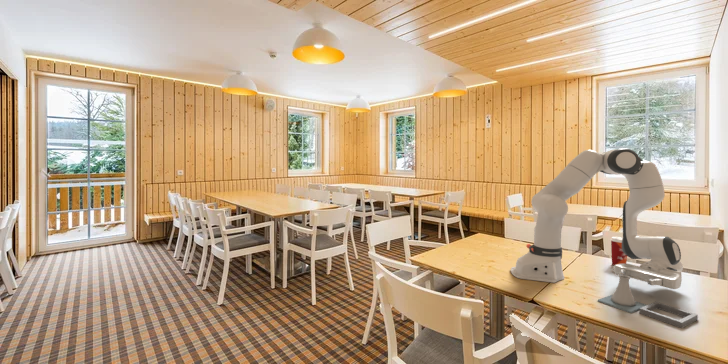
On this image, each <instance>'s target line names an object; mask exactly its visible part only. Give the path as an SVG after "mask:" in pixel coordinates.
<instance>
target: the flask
mask: <svg viewBox="0 0 728 364" xmlns="http://www.w3.org/2000/svg"><path fill="white" fill-rule="evenodd" d="M618 278H619V282H618V284H617V287H616V288H615V290H614V292H613V294H611V295H612V297H611V300H612V301H613V302H615V303H618V304H620V305H626V306H633V305H636V302H637V301H636V299H635V298H634V295H633V293H632V290H631V287H630V280H631V278H630V277H628V276H625V275H619V274H618ZM635 301H636V302H635Z"/></svg>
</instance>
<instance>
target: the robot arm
mask: <svg viewBox="0 0 728 364" xmlns="http://www.w3.org/2000/svg"><path fill="white" fill-rule="evenodd" d="M599 172H601V173H603V174H607V175H622V176H624V177H625V179H626V181H627V184H628V188H629V189H628V190H629V196H628V199H627V200H625V201H624V202H623V205H622V206H623V207H622V237H623V239H622V251H623V252H624V253H625V254H626V255H627V258H629V259H631V260H649V261H645V262H643V263H641V264H640V265H639V266H638V265H635V264H630V263H627V262H626V263H622V264H616V265H613V272H614V274H616V275H618V276H619V275H625V276H628V277H630V279H633V280H637V281H638V280H639V281H641V282H645V283H647V285H649V286H660V287H663V288H667V289H670V290H677V289H678V290H679V289H680V288H681V286H682V280H683V279H682V277H683V276H682V272H683V270H684V267H683V264H682V261H681V259H682V258H681V257H682V254H681V253H682V252H681V249H680V247H679V244H678V243H677V242H676V241H675V240H674V239H672V238H671V237H669V236H660V235H659V236H645V235H644V236H642V235H641V236H640V235H639V234H638V216H639V215H640V214H641V213H642V212H645V211H647V210H650V209H652V208H655V207H656V206H659V204H662V203H661V202H663V201H664V199H665V197H666V196H665V188H664V187H665V186H664V184H663V179H662V177H661V174H660V172H659V169H658V167H657V166H656V164H655V163H654V162H653V161H649V160H643V159H642V158H641V157H640V156H639V155H638V153H636V151H634V150H633V149H630V148H626V147H625V148H624V147H621V148H616V149H615V148H614V149H611V150H607V151H605V152H602V153H599V152H598V151H597V150H596V151H595V150H592V149H585V150H583V151H582V152H580V153H579V154H578V155H576V156H575V157H573V159H572V160H571V161H570V162H569V163H568V164H567V165H566V166H565V167H564V168H563V169H562V170H561V171H560V172H559V173H558V174H557V176H556V177H554V179H552V180H551V181H550V182H548V183H547V184H546V185H545V186H544V187H542V189H541V190H539V191H538V192H536V193H535V194H534V195H533V196H532V198H531V202H530V203H531V206H532V208H533V210H534V212H537V218H536V221H535V222H536V223H535V226H534V229H533V231H534V232H533V233H534V234H533V244H532V245H531V243H527V244H526V245H525V246H526V248H527V249H528V252H526V253H525V254H523V255H522V256H520V257H518V258H517V260H516V262H515V266H512V267H511V268H510V273H511V275H513V276H514V277H515V278H517V279H521V280H529V281H536V282H537V281H538V282H547V283H552V284H554V283H557V282H559V281H562V280H564V279H565V276H564V271H563V265H562V258H563V247H562V231H563V225H564V223H565V218H566V215H567V214H568V211H569V205H568V204H567V200H569V199H570V198H572V197H573V196H575V195H577V194H579V192H581V190H582V189H583V188H584V187H585V186H586V185H587V184H588V183H589V182H590V181H591V180H592V179H593V178H594V176H595V175H597V174H598V173H599Z"/></svg>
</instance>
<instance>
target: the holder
mask: <svg viewBox="0 0 728 364" xmlns="http://www.w3.org/2000/svg"><path fill="white" fill-rule="evenodd" d="M646 305H647V306H644V307H642V308H640V310H639V314H640V315H643V316H646V317H649V318H652V319H655V320H657V321H660V322H664V323H666V324H669V325H672V326H675V327H677V328H681V329H683V328H684V327H686V326H688V325H690V324H692V323H694V322H696V321H698V318H699V315H698V314H696V313H693V312H690V311H687V310H684V309H680V308H678V307H674V306H671V305H668V304H665V303H662V302H658V301H655V302H652V303H649V304H646ZM657 309H659V310H662V311H665V312H669V313H671V314H674V315H678V316H681V318H680V319H676V318H674V317H671V316H668V315H665V314H662V313H658V312H656V310H657ZM682 317H683V318H682Z"/></svg>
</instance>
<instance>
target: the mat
mask: <svg viewBox="0 0 728 364" xmlns="http://www.w3.org/2000/svg"><path fill="white" fill-rule="evenodd" d="M612 295H613V294H610V295H608V296H605V297H602V298H599V299H597V302H599V303H601V304H604V305H607V306H610V307H612V308H614V309H615V308H616V309H618V310H621V311H624V312H627V313H629V314H633V313H635V312H637V311H640V308H642V307H644V306H647V305H648V304H646V303H643V302H639V301H636V300H635V302H636V305H633V306H626V305H620V304H618V303H615V302H613V301H612V300H611V297H612Z"/></svg>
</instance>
